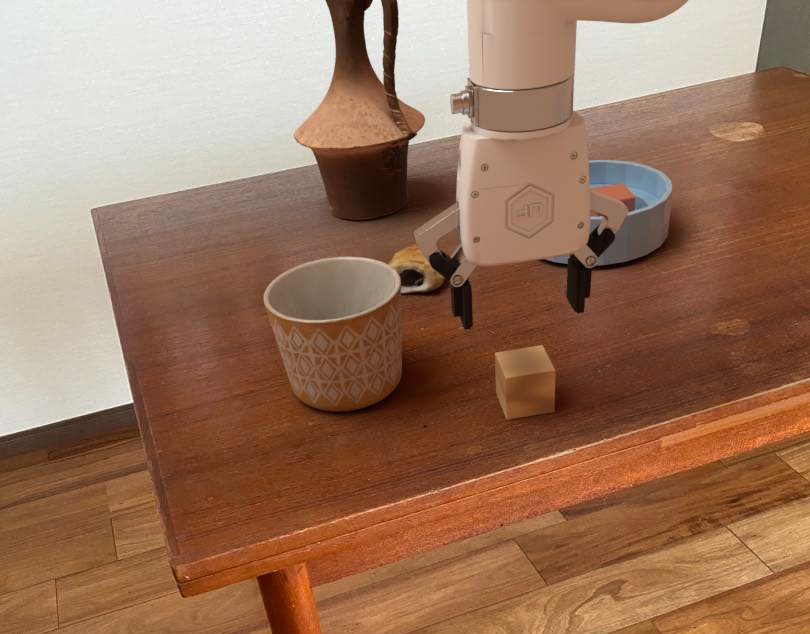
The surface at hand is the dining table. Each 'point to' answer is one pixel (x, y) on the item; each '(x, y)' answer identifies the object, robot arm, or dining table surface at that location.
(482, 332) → the dining table surface
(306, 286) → the planter
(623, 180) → the bowl
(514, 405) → the block
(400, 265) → the pastry
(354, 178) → the pitcher
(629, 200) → the block
